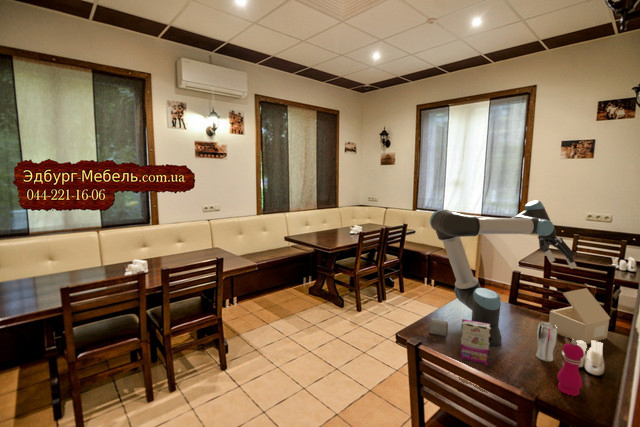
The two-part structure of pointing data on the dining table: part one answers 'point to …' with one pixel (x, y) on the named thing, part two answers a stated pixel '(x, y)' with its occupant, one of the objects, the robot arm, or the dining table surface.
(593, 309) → the carton lid
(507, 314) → the dining table surface
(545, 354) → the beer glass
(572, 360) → the pepper mill
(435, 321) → the grey rounded block
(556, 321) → the carton
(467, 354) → the candy bar box
